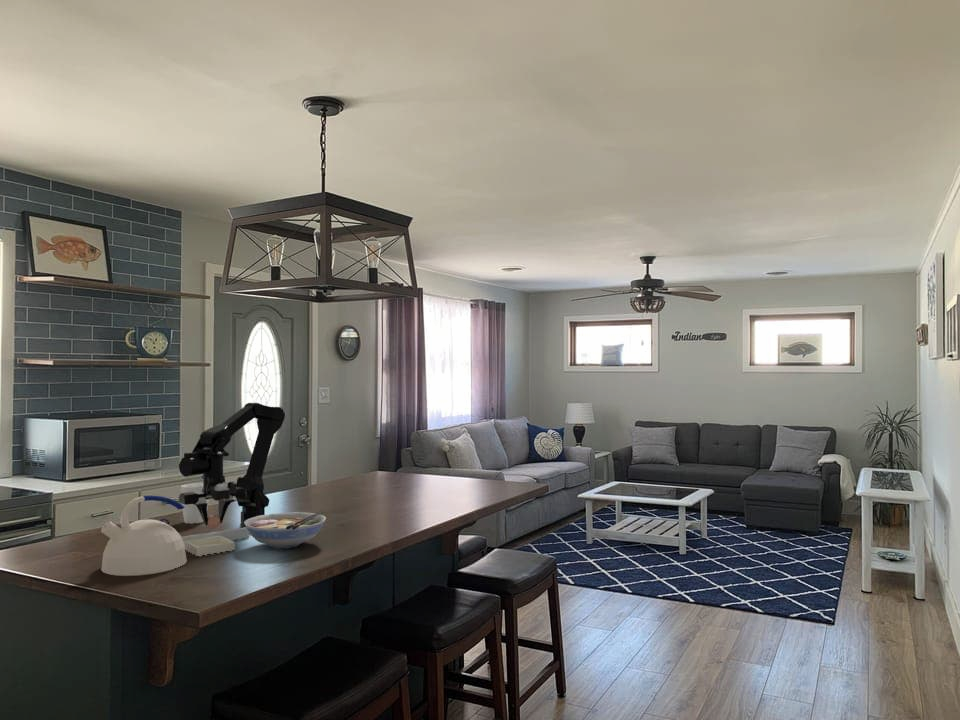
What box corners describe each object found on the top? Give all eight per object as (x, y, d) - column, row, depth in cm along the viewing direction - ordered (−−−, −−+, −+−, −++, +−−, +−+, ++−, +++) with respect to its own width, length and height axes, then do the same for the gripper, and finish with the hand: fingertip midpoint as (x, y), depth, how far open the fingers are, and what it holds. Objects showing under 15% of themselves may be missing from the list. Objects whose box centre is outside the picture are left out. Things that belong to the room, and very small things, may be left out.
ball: (217, 526, 231) (217, 513, 231) (222, 528, 228) (222, 515, 228) (204, 528, 228) (204, 514, 228) (209, 530, 225) (209, 516, 225)
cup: (174, 523, 247) (174, 486, 248) (196, 518, 255) (196, 482, 256) (193, 525, 243) (193, 488, 243) (215, 520, 251) (215, 484, 251)
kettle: (88, 566, 195) (88, 496, 195) (168, 552, 209) (168, 486, 209) (116, 581, 180) (116, 506, 180) (200, 565, 195) (200, 495, 195)
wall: (247, 537, 226) (247, 527, 226) (248, 537, 225) (248, 527, 225) (178, 547, 213) (178, 537, 213) (180, 548, 213) (180, 537, 213)
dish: (220, 543, 218) (220, 535, 218) (234, 550, 210) (234, 541, 210) (183, 549, 211) (183, 541, 211) (196, 556, 203) (196, 547, 203)
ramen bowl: (267, 534, 229) (266, 507, 229) (339, 537, 226) (339, 509, 226) (226, 555, 205) (226, 525, 205) (306, 558, 201) (306, 527, 201)
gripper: (190, 478, 216) (191, 533, 216) (253, 472, 228) (253, 524, 228) (178, 474, 225) (178, 526, 225) (239, 468, 237) (239, 518, 236)
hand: (213, 524), depth 228 cm, fingers closed on ball, 4 cm apart
